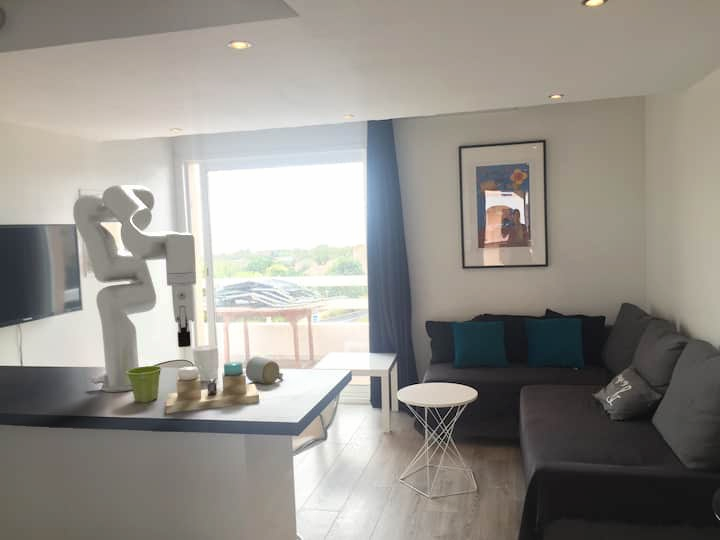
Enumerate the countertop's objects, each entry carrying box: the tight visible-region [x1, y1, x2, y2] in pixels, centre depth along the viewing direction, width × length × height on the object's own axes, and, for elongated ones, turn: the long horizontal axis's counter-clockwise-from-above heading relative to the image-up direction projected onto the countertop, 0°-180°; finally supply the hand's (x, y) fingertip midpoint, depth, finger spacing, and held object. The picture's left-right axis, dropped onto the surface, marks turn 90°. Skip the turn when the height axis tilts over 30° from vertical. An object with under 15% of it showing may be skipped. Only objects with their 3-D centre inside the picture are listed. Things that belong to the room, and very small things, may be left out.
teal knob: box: [223, 361, 244, 376], centre depth 160 cm, size 5×5×8 cm
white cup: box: [192, 344, 219, 382], centre depth 185 cm, size 8×8×10 cm
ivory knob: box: [177, 366, 198, 381], centre depth 157 cm, size 5×5×8 cm
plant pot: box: [126, 365, 163, 403], centre depth 164 cm, size 9×9×9 cm
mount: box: [165, 369, 260, 414], centre depth 159 cm, size 24×12×7 cm, turn 106°
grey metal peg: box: [206, 379, 218, 396], centre depth 159 cm, size 2×2×4 cm
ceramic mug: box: [245, 356, 284, 385], centre depth 178 cm, size 11×8×8 cm
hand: (184, 346), depth 157 cm, fingers closed
